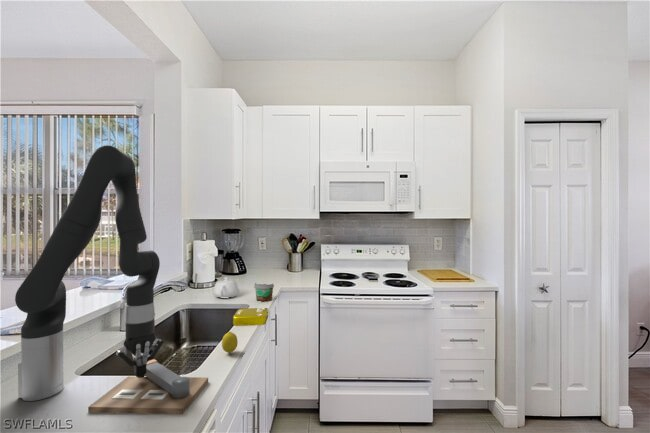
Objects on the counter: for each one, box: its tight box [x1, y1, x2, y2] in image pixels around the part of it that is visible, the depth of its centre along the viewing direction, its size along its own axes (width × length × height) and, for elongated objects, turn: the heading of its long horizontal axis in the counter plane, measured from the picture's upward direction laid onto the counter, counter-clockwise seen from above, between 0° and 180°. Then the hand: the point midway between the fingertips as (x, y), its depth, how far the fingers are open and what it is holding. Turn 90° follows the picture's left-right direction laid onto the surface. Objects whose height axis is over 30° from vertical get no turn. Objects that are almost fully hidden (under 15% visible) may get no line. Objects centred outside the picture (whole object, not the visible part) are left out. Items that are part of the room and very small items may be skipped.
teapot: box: [212, 276, 240, 298], centre depth 207 cm, size 25×16×12 cm, turn 3°
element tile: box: [232, 307, 269, 327], centre depth 159 cm, size 15×15×5 cm
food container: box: [253, 282, 275, 303], centre depth 195 cm, size 12×6×10 cm, turn 76°
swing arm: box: [144, 358, 190, 399], centre depth 96 cm, size 24×5×4 cm, turn 51°
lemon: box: [221, 331, 239, 354], centre depth 121 cm, size 6×6×8 cm
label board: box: [87, 376, 209, 415], centre depth 92 cm, size 25×16×2 cm, turn 87°
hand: (140, 376), depth 97 cm, fingers closed
